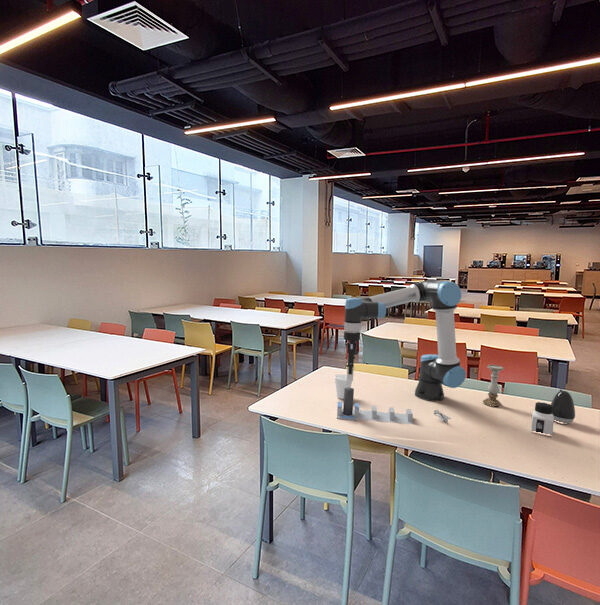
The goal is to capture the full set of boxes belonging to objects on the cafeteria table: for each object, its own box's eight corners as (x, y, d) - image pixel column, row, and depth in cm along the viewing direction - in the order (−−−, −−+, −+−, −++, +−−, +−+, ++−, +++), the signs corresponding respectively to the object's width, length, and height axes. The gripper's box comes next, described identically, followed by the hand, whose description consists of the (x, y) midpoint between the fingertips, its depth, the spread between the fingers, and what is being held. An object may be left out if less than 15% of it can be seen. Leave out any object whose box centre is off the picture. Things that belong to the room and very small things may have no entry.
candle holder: (497, 408, 194) (501, 370, 192) (479, 403, 201) (483, 366, 198) (504, 404, 200) (507, 367, 198) (487, 399, 206) (490, 363, 204)
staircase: (433, 422, 176) (434, 410, 175) (439, 420, 178) (440, 409, 177) (443, 427, 170) (444, 415, 169) (450, 426, 172) (451, 414, 171)
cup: (353, 401, 197) (354, 380, 196) (334, 400, 198) (335, 379, 196) (351, 394, 207) (352, 374, 206) (332, 393, 207) (333, 374, 206)
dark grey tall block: (352, 412, 181) (353, 387, 180) (352, 415, 177) (353, 390, 176) (343, 411, 182) (344, 387, 180) (342, 415, 177) (344, 390, 176)
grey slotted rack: (409, 415, 181) (410, 405, 181) (413, 425, 170) (413, 414, 170) (337, 409, 185) (338, 399, 185) (336, 418, 175) (337, 408, 174)
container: (551, 437, 163) (555, 408, 162) (530, 432, 167) (534, 404, 166) (551, 431, 170) (554, 403, 168) (531, 426, 174) (534, 399, 172)
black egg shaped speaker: (569, 419, 183) (573, 389, 182) (577, 428, 174) (581, 396, 172) (545, 416, 187) (548, 386, 185) (551, 424, 177) (555, 392, 175)
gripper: (344, 326, 188) (342, 368, 190) (343, 335, 163) (341, 384, 166) (359, 327, 187) (357, 369, 189) (361, 337, 162) (358, 385, 165)
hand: (349, 376), depth 177 cm, fingers open, 13 cm apart
